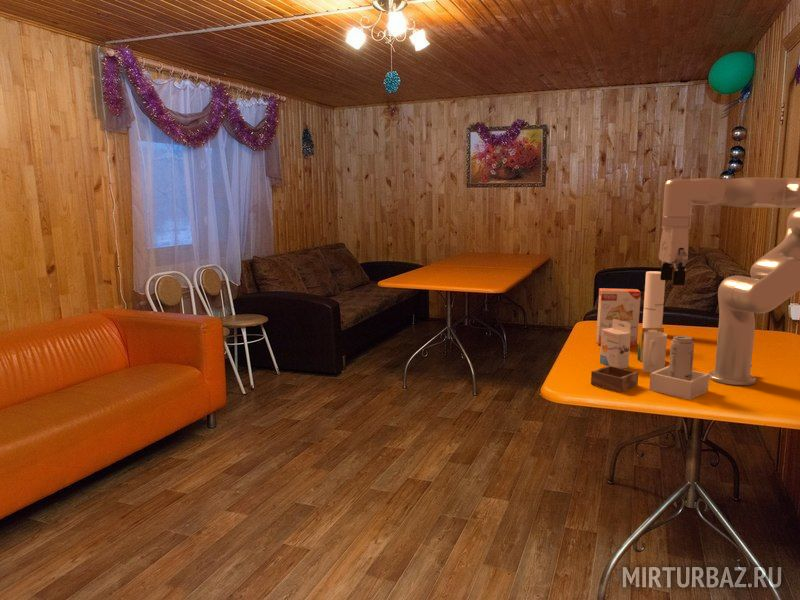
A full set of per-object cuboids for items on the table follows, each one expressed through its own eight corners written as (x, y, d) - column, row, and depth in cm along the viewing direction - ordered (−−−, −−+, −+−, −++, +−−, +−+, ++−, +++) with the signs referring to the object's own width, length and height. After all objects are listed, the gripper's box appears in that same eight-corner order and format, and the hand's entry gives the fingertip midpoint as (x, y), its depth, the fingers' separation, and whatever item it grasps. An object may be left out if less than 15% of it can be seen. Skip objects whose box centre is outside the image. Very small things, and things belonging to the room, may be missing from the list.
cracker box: (598, 345, 227) (601, 290, 223) (595, 341, 233) (598, 287, 229) (637, 347, 225) (641, 290, 221) (634, 343, 231) (637, 288, 227)
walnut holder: (608, 377, 188) (608, 365, 187) (637, 385, 181) (638, 372, 180) (590, 384, 181) (591, 371, 181) (620, 392, 174) (621, 378, 174)
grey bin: (668, 381, 184) (669, 365, 183) (708, 390, 175) (709, 374, 174) (649, 389, 176) (650, 373, 175) (689, 399, 168) (691, 382, 167)
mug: (644, 366, 200) (647, 330, 198) (666, 369, 196) (669, 333, 194) (637, 374, 192) (639, 336, 190) (659, 377, 188) (662, 339, 186)
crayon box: (658, 359, 208) (660, 326, 206) (662, 361, 205) (664, 328, 203) (636, 359, 208) (639, 326, 206) (640, 361, 205) (642, 328, 203)
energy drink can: (690, 392, 172) (694, 340, 169) (666, 389, 175) (670, 338, 172) (691, 386, 177) (695, 336, 174) (668, 383, 180) (672, 334, 177)
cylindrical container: (664, 336, 240) (668, 273, 236) (646, 336, 241) (650, 273, 236) (657, 332, 248) (661, 271, 243) (639, 332, 248) (643, 271, 243)
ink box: (598, 363, 204) (601, 319, 202) (610, 361, 206) (612, 318, 204) (617, 369, 197) (620, 324, 194) (629, 367, 199) (632, 323, 196)
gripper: (652, 221, 183) (648, 278, 186) (674, 224, 166) (669, 287, 169) (678, 221, 183) (674, 278, 186) (702, 224, 166) (697, 287, 169)
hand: (672, 282), depth 177 cm, fingers open, 9 cm apart
